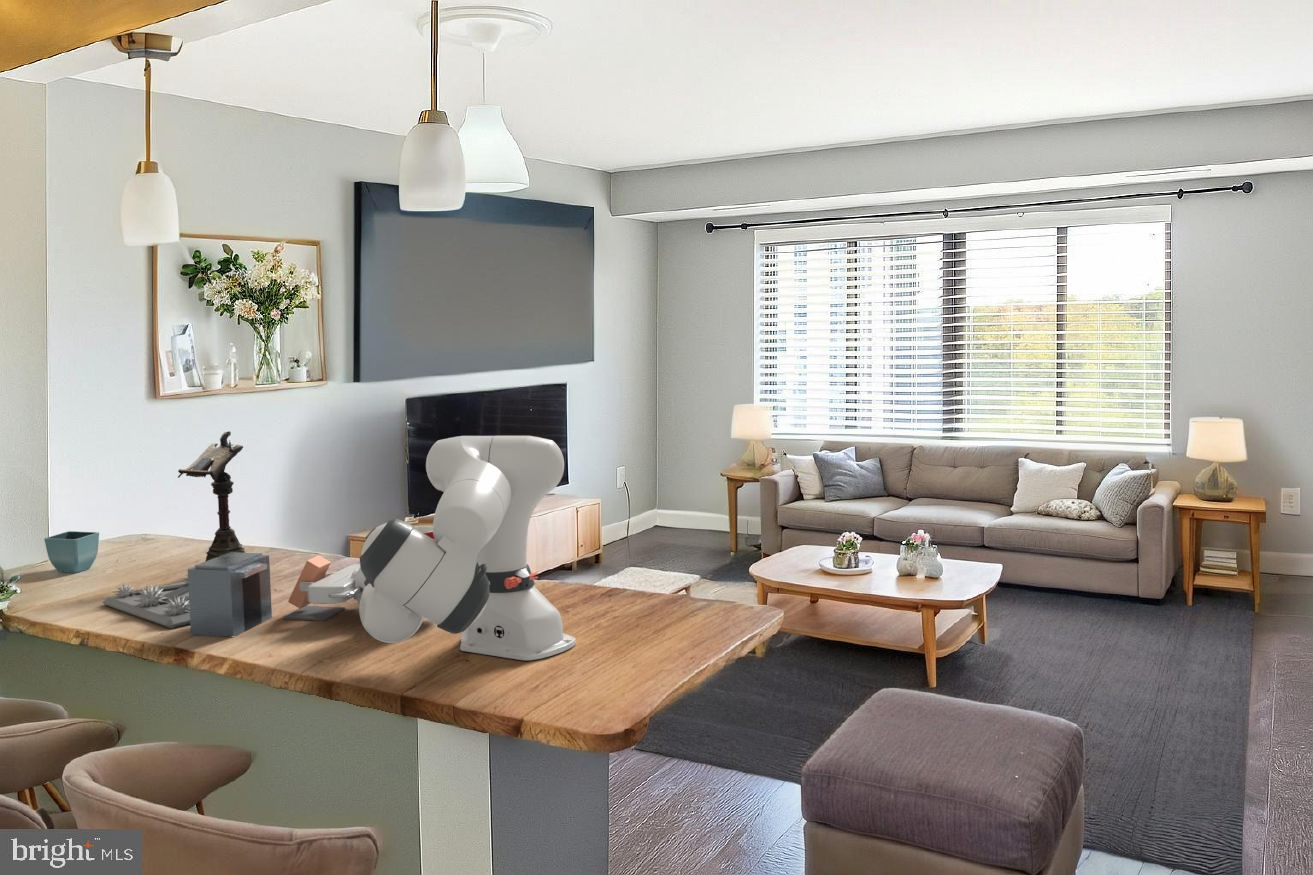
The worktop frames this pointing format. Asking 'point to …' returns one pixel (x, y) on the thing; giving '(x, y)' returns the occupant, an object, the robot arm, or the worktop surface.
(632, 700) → the worktop surface
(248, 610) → the dispenser
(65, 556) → the flower pot
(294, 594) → the tall salmon pillar
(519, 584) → the robot arm
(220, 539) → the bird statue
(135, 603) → the spiky succulent planter
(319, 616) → the coaster
